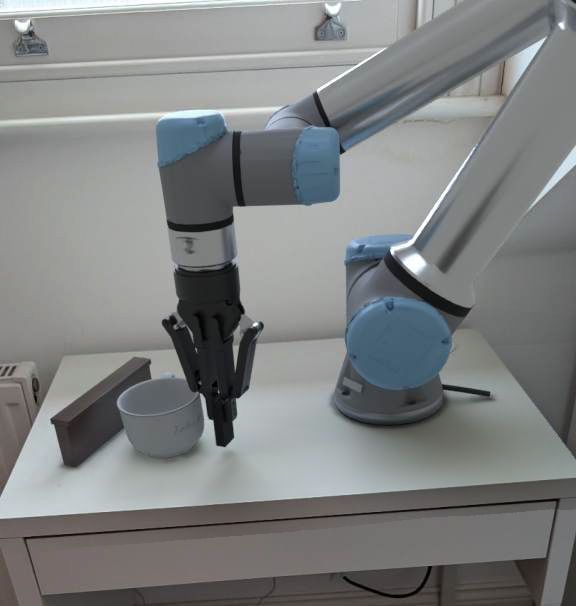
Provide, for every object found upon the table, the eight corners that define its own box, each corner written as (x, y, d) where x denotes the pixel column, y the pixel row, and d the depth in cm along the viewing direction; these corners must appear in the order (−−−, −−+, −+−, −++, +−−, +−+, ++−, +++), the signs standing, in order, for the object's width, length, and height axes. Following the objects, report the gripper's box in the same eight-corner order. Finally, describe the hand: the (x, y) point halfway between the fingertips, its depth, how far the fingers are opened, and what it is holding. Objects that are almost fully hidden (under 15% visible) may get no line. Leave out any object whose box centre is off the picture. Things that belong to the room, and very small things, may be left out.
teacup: (193, 470, 103) (184, 414, 99) (114, 465, 105) (102, 410, 101) (223, 419, 114) (217, 366, 110) (151, 415, 117) (142, 363, 112)
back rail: (157, 401, 120) (150, 358, 116) (78, 468, 105) (67, 421, 101) (141, 398, 121) (134, 356, 117) (61, 464, 106) (49, 418, 102)
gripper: (139, 267, 92) (168, 447, 105) (241, 276, 87) (257, 463, 101) (172, 248, 98) (195, 421, 111) (269, 255, 93) (281, 435, 106)
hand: (225, 441), depth 106 cm, fingers closed
